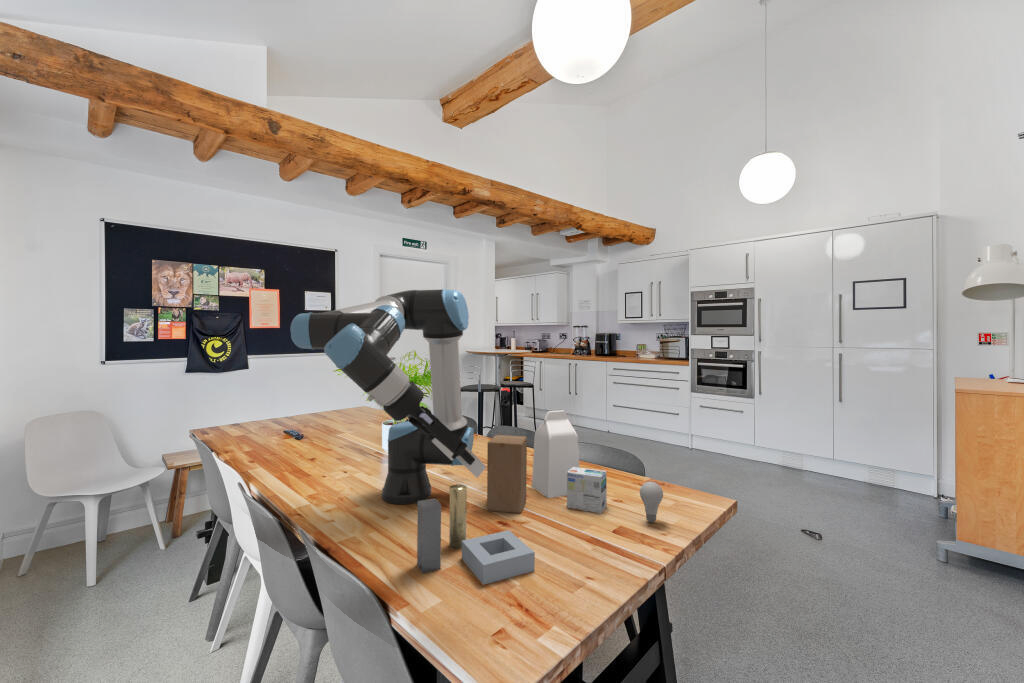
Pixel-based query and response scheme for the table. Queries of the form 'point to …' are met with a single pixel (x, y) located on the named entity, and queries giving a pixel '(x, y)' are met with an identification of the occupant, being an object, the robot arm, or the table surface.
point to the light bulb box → (586, 489)
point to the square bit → (429, 535)
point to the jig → (497, 556)
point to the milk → (554, 454)
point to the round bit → (457, 516)
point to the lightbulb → (651, 499)
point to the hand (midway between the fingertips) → (467, 463)
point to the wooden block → (506, 473)
